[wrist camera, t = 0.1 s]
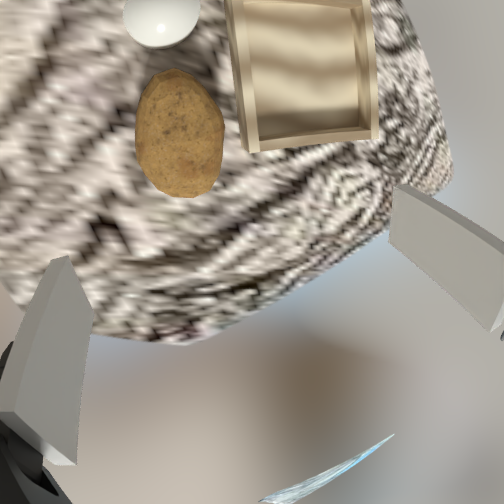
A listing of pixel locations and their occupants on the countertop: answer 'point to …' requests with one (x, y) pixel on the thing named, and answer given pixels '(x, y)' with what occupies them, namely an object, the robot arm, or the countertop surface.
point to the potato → (179, 135)
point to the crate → (303, 71)
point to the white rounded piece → (160, 21)
